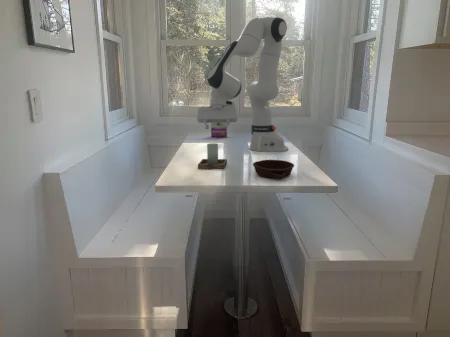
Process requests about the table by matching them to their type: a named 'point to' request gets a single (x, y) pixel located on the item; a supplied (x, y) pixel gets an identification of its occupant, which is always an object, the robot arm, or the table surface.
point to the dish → (273, 168)
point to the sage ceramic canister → (212, 153)
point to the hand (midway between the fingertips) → (216, 128)
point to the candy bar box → (218, 130)
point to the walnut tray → (205, 165)
